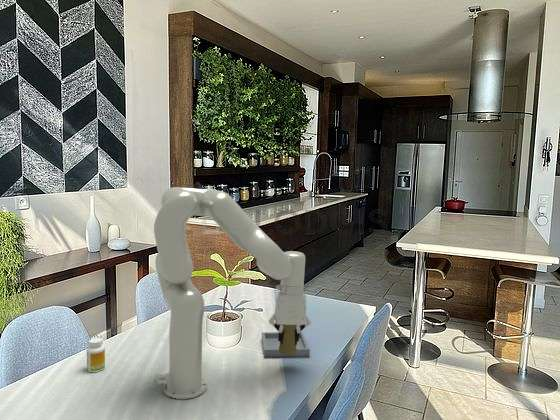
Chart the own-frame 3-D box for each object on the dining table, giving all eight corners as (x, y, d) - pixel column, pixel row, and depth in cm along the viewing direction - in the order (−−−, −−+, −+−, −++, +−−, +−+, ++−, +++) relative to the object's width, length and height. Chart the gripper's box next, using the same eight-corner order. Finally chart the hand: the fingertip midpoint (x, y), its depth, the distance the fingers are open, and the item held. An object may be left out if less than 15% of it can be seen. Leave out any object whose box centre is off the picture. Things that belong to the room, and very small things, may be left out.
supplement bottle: (108, 367, 145) (108, 338, 144) (95, 374, 140) (94, 344, 139) (96, 363, 147) (96, 335, 146) (83, 370, 143) (82, 341, 142)
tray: (264, 358, 155) (264, 349, 155) (261, 339, 171) (261, 332, 171) (309, 357, 157) (309, 349, 157) (302, 339, 173) (302, 332, 173)
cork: (295, 356, 144) (297, 323, 143) (276, 353, 145) (278, 320, 144) (298, 348, 150) (300, 317, 149) (280, 346, 151) (282, 314, 150)
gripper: (267, 291, 141) (263, 347, 142) (319, 293, 143) (315, 348, 144) (265, 285, 148) (262, 338, 150) (314, 287, 150) (311, 339, 152)
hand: (288, 342), depth 147 cm, fingers closed on cork, 4 cm apart
